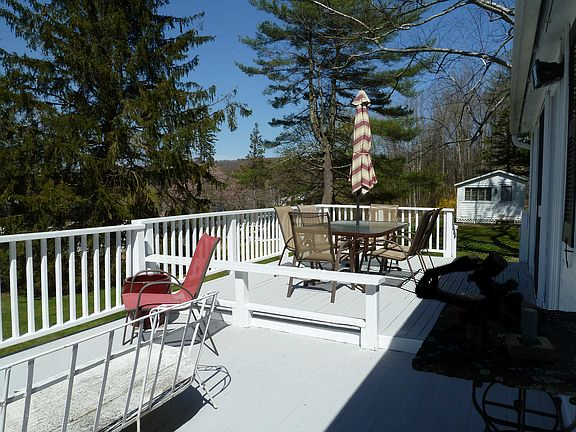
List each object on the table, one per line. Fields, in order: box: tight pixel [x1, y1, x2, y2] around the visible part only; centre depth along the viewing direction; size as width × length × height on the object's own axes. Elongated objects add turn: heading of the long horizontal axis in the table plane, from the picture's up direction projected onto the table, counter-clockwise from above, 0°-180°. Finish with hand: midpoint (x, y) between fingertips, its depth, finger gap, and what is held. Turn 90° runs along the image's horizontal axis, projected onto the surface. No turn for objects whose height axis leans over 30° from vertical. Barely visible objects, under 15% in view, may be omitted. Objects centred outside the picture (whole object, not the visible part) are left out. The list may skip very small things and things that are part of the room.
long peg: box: [520, 308, 538, 345], centre depth 143 cm, size 4×4×14 cm
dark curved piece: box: [499, 293, 548, 330], centre depth 176 cm, size 23×9×10 cm, turn 179°
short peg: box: [466, 324, 482, 353], centre depth 147 cm, size 4×4×8 cm
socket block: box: [505, 333, 556, 363], centre depth 144 cm, size 12×12×4 cm
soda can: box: [456, 292, 477, 329], centre depth 174 cm, size 7×7×12 cm
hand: (516, 323), depth 147 cm, fingers open, 9 cm apart
